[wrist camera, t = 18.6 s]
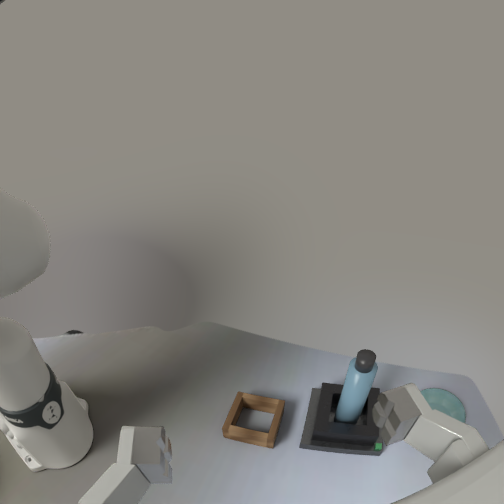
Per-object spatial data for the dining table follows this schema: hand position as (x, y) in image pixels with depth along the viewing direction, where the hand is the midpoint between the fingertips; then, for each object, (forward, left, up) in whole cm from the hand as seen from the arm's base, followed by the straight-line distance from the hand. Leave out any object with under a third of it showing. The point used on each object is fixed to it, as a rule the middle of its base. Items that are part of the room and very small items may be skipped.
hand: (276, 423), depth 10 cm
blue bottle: (+7, +24, -33) cm, 42 cm away
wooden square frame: (-7, +21, -35) cm, 42 cm away
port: (+7, +24, -35) cm, 43 cm away
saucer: (+24, +26, -35) cm, 50 cm away
